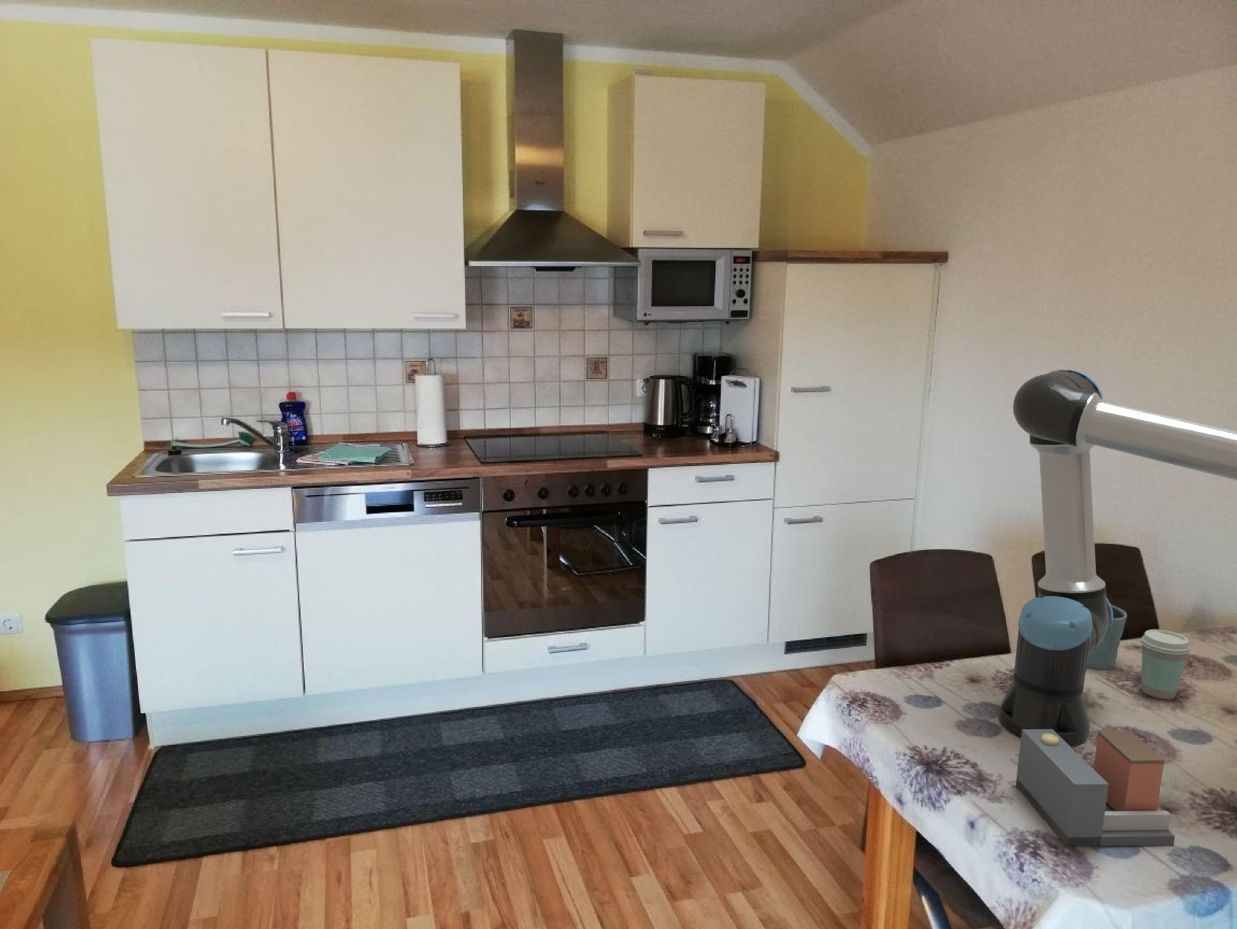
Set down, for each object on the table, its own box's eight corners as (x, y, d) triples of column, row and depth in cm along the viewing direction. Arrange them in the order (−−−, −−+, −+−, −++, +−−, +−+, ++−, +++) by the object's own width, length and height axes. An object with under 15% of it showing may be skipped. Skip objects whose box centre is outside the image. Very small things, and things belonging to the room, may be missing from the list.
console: (1066, 846, 132) (1075, 779, 130) (1015, 785, 148) (1022, 724, 146) (1173, 845, 133) (1184, 778, 131) (1111, 784, 149) (1119, 724, 147)
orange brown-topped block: (1123, 818, 136) (1131, 760, 134) (1090, 786, 145) (1098, 731, 143) (1155, 818, 136) (1164, 760, 134) (1121, 785, 145) (1129, 730, 143)
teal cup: (1080, 648, 203) (1087, 597, 201) (1128, 663, 196) (1135, 611, 193) (1058, 659, 197) (1065, 607, 195) (1107, 676, 190) (1114, 621, 187)
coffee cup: (1192, 703, 178) (1201, 645, 175) (1148, 702, 178) (1156, 644, 176) (1167, 683, 186) (1175, 628, 184) (1125, 682, 186) (1133, 627, 184)
